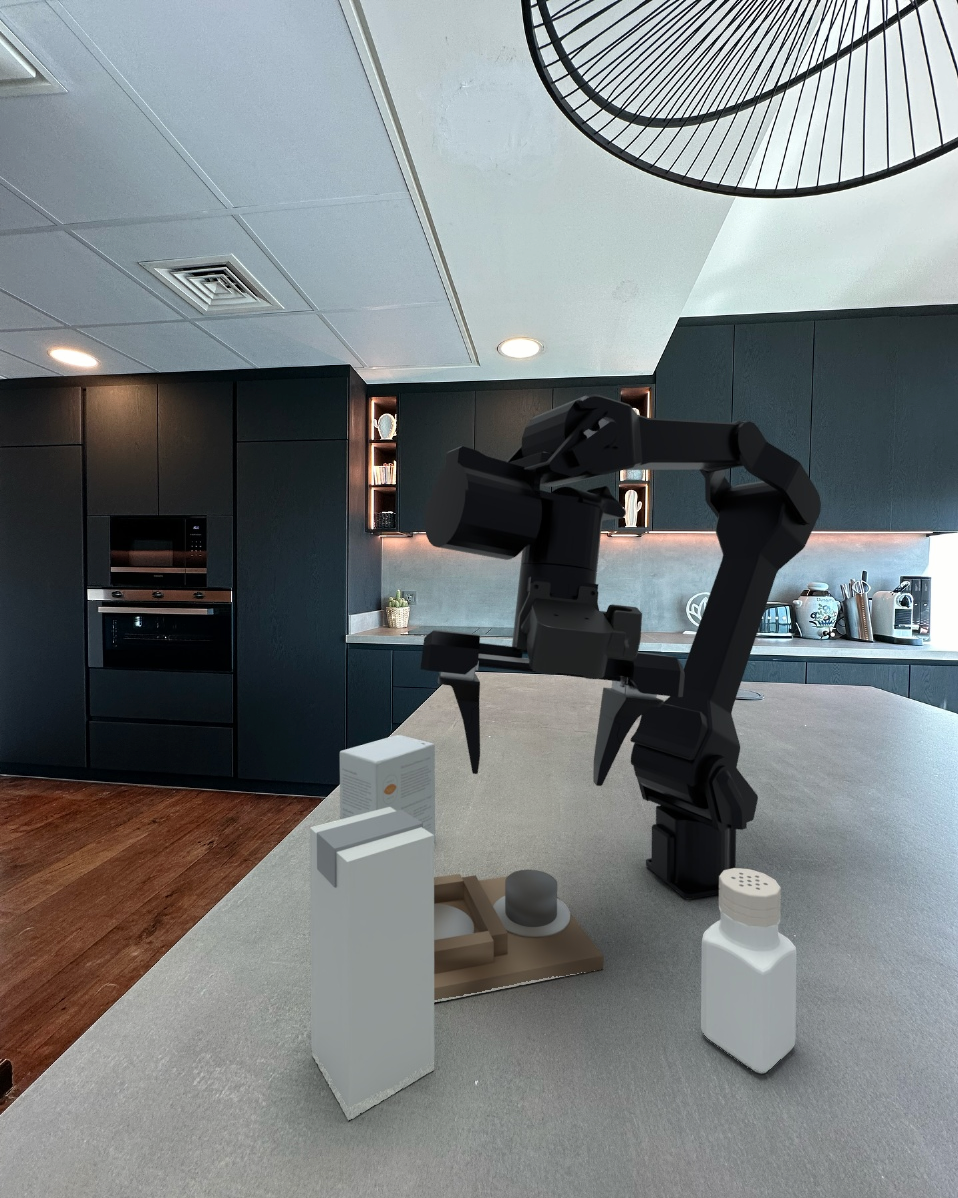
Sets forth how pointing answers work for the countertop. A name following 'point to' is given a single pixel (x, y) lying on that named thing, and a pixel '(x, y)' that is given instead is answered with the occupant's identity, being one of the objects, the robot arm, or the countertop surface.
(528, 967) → the wooden holder board
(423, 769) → the small box
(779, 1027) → the salt shaker
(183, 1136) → the countertop surface
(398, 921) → the tall white box
